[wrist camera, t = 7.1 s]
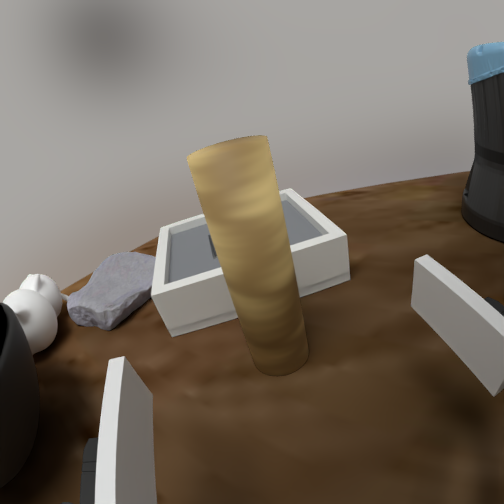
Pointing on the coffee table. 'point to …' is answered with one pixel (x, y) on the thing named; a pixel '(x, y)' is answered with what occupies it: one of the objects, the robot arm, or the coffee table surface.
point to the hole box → (211, 276)
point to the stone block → (113, 290)
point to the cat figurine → (37, 309)
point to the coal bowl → (16, 396)
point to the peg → (253, 248)
